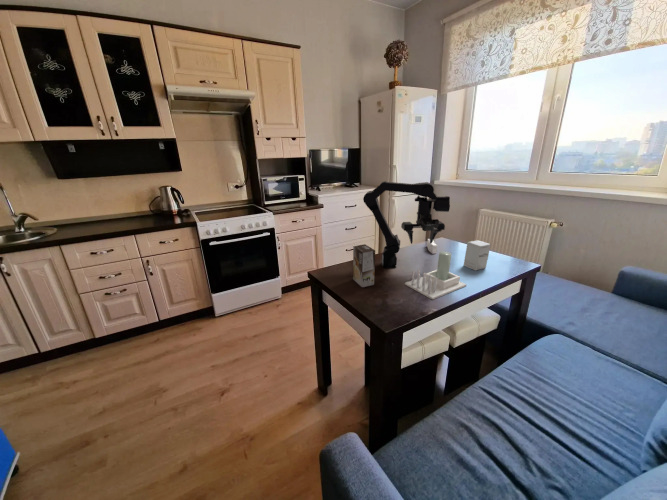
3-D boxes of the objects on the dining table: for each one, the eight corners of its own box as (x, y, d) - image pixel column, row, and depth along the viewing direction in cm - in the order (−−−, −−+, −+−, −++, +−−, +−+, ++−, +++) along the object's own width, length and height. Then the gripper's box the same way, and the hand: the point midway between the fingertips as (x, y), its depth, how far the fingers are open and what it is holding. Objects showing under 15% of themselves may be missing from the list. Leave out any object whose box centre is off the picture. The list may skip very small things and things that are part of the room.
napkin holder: (438, 256, 149) (439, 246, 147) (417, 252, 155) (418, 242, 153) (445, 248, 160) (447, 239, 158) (426, 245, 166) (427, 236, 164)
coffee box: (374, 284, 118) (376, 250, 112) (362, 287, 116) (362, 252, 110) (364, 276, 126) (365, 243, 120) (352, 279, 124) (352, 245, 118)
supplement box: (475, 271, 129) (480, 246, 125) (462, 265, 136) (466, 241, 131) (486, 268, 132) (491, 243, 128) (473, 262, 139) (477, 239, 134)
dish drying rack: (432, 299, 106) (434, 284, 103) (404, 284, 118) (405, 270, 115) (466, 286, 116) (468, 271, 113) (437, 273, 128) (439, 260, 125)
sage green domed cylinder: (435, 282, 117) (439, 254, 112) (435, 278, 121) (439, 251, 117) (447, 284, 115) (451, 256, 111) (447, 279, 120) (451, 252, 115)
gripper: (409, 215, 116) (406, 249, 121) (452, 214, 116) (447, 248, 122) (402, 210, 126) (399, 241, 132) (441, 209, 127) (437, 240, 132)
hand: (421, 243), depth 129 cm, fingers open, 9 cm apart
